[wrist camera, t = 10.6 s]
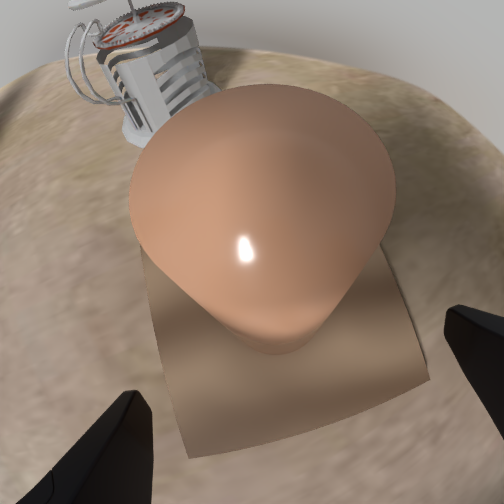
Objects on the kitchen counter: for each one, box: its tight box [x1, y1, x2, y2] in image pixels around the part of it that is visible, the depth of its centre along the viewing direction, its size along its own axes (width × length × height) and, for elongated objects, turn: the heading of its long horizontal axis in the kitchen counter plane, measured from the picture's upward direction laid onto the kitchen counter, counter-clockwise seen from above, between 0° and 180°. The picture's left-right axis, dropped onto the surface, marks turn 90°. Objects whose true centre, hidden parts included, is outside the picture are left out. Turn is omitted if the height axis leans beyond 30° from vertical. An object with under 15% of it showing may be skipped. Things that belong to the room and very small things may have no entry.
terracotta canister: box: [129, 84, 396, 355], centre depth 11 cm, size 5×5×12 cm
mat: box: [140, 244, 430, 459], centre depth 17 cm, size 14×14×1 cm
